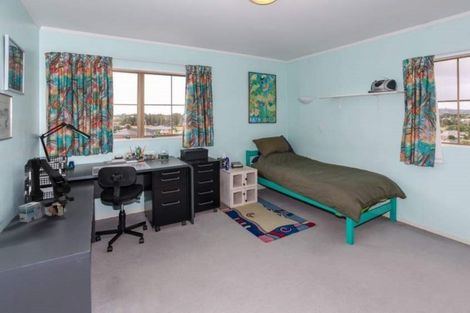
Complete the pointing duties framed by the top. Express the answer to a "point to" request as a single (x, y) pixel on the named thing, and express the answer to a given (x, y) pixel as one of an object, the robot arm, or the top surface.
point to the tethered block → (60, 210)
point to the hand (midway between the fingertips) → (60, 212)
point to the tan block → (49, 211)
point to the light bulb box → (30, 212)
